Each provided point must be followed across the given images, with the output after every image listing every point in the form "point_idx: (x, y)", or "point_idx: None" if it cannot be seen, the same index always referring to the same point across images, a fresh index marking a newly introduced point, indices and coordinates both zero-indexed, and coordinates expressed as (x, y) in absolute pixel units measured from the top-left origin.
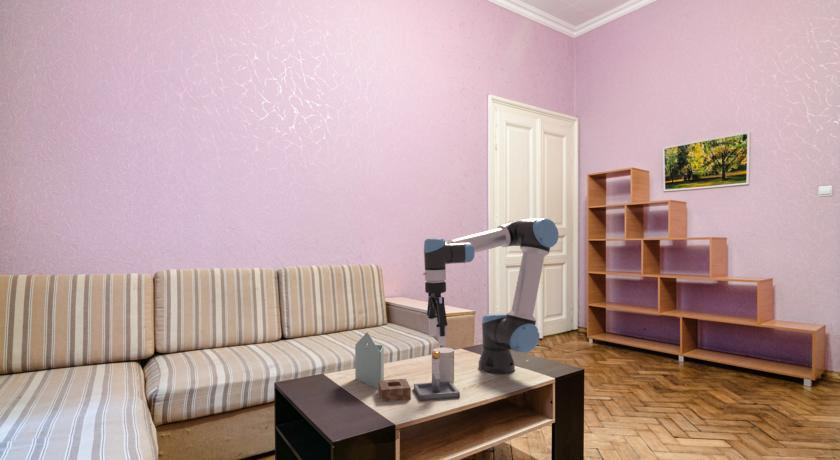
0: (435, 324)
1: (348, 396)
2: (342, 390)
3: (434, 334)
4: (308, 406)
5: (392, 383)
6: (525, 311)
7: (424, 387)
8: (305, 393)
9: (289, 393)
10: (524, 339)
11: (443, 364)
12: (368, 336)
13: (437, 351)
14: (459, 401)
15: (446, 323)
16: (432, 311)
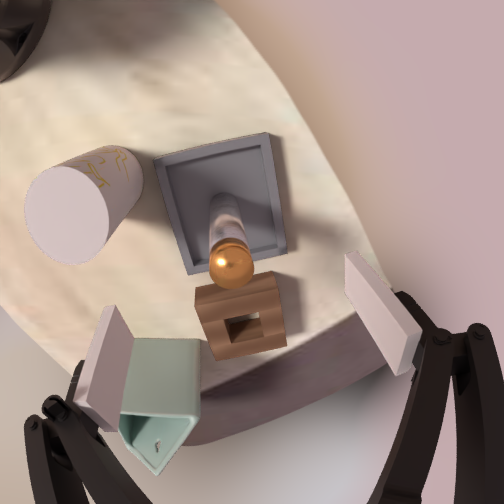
0: (99, 367)
1: (245, 380)
2: (211, 392)
3: (119, 322)
4: (288, 409)
5: (227, 331)
6: None
7: (188, 240)
8: (230, 424)
9: (230, 435)
10: None
11: (124, 200)
12: (165, 465)
13: (216, 262)
14: (297, 137)
15: (487, 335)
16: (129, 483)
